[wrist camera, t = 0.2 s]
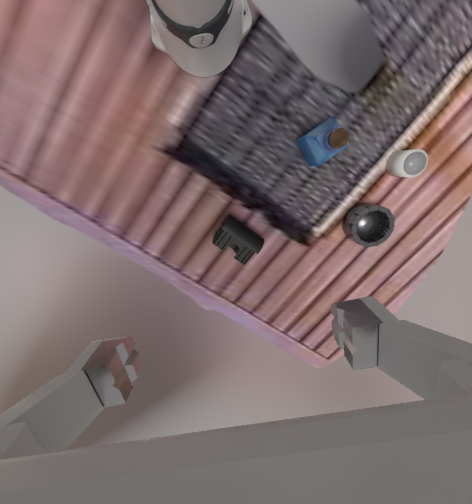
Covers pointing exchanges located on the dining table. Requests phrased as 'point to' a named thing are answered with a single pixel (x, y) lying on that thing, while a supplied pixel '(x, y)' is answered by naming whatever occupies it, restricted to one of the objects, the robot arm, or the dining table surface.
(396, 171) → the cap
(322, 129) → the perfume bottle
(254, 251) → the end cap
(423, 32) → the dining table surface
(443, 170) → the dining table surface
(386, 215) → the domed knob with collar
